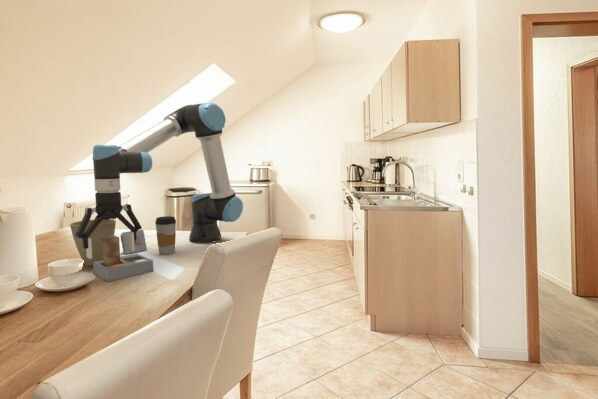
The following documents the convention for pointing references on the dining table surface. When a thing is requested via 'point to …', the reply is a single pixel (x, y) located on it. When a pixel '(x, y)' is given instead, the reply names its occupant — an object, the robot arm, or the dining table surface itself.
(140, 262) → the grey compartment tray
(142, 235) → the electrical switch
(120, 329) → the dining table surface
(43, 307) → the dining table surface
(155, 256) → the dining table surface
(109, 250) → the plug
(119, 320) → the dining table surface
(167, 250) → the coffee cup
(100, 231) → the plant pot
